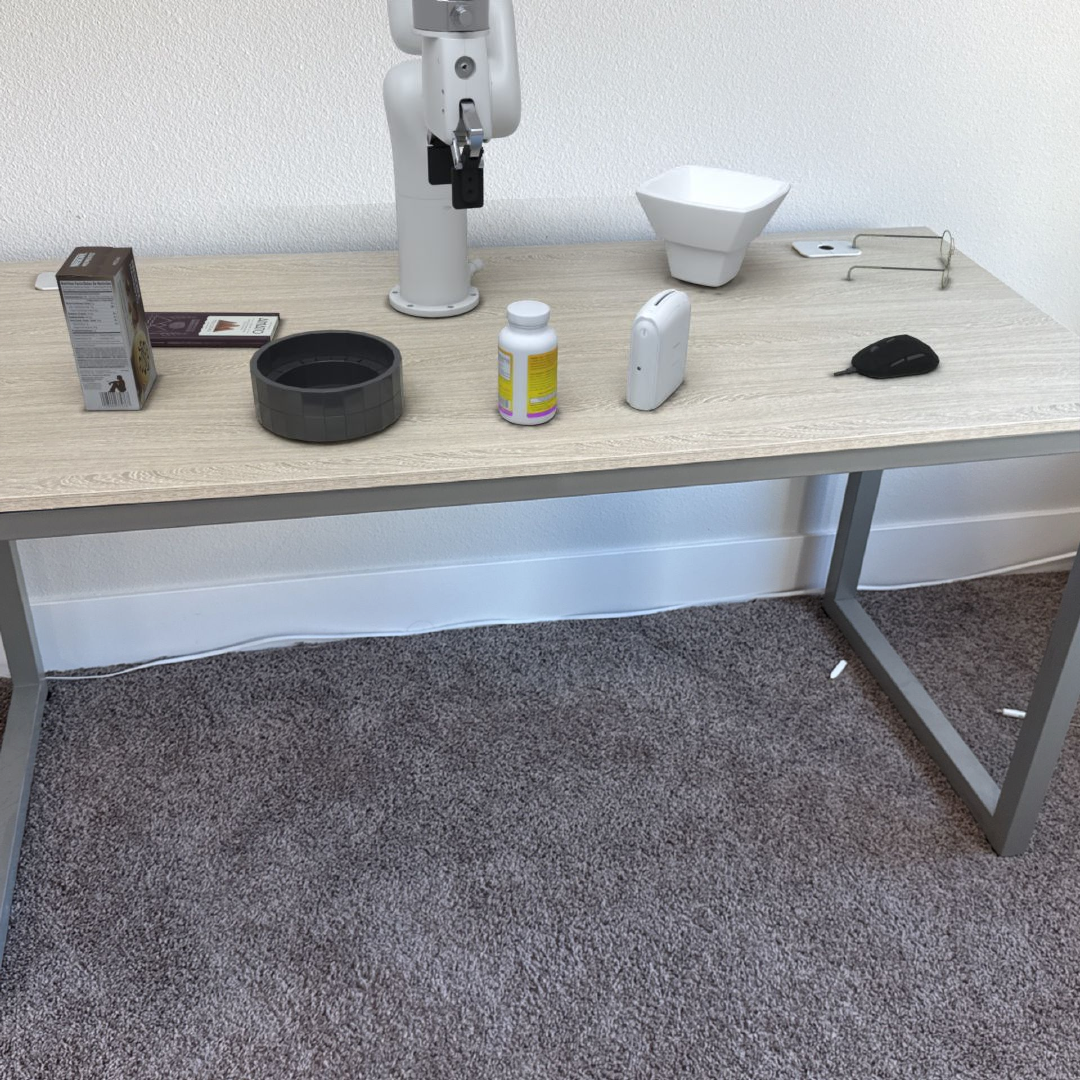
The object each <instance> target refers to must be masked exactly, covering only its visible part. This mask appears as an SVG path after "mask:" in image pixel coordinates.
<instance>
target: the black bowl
mask: <svg viewBox="0 0 1080 1080" xmlns="http://www.w3.org/2000/svg"><path fill="white" fill-rule="evenodd" d="M249 372H250V381H251V387H252V396H253V402H254V403H253V404H254V408H255V409H254V411H255V417H256V419H257V421H259V423H260V425H261V426H263V427H264V428H266V429H267V430H269V431H270V432H272V433H273V434H276V435H279V436H282V437H285V438H288V439H293V440H294V439H295V440H299V441H304V442H305V441H306V442H324V443H325V442H334V441H337V442H338V441H346V440H351V439H357V438H360V437H365V436H368V435H371V434H374V433H376V432H379V431H381V430H383V429H386V428H387V427H388V426H389V425H391V424H393V423H394V422H395V421H396V420H397V419H398V418H399V417H400V416H401V414H402V413H403V410H404V406H405V391H404V390H405V389H404V373H403V356H402V353H401V351H400V348H398V347H397V346H396V345H395V344H394V343H393V342H391V341H390V340H387V339H386V338H384V337H382V336H379V335H377V334H376V335H375V334H372V333H368V332H364V331H357V330H351V329H319V330H318V329H317V330H307V331H302V332H297V333H292V334H289V335H285V336H282V337H279V338H276V339H273V340H272V341H271V342H270V343H267V344H265V345H264V346H262V347H259V349H257V350H255V352H254V353H253V354H252V356H251V358H250V360H249Z"/></svg>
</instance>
